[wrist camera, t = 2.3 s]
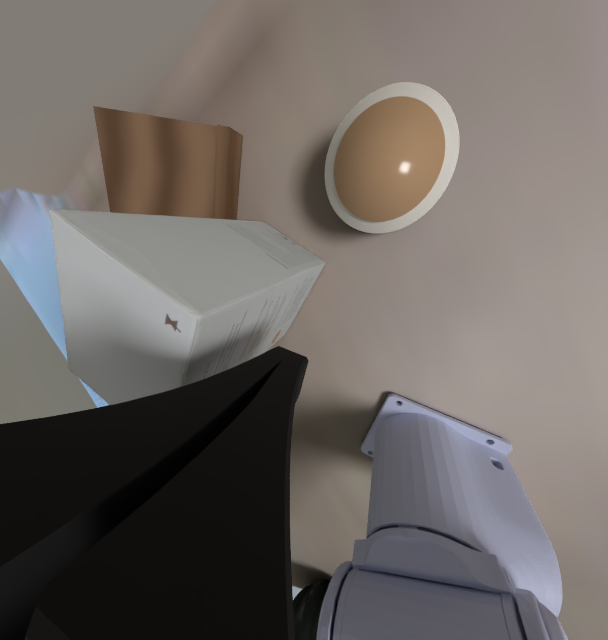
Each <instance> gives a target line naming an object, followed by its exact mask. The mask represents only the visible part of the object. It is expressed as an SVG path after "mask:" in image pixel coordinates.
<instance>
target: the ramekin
mask: <svg viewBox="0 0 608 640" xmlns="http://www.w3.org/2000/svg"><path fill="white" fill-rule="evenodd" d="M458 153H459V130H458V124H457V121H456V118H455V115H454V113H453V111H452V109H451V107H450V105H449V104H448V103H447V101H446V100H445V99H444V98H443V97H442V96H441V95H440V94H439V93H438V92H436V91H435V90H433V89H432V88H430V87H427V86H425V85H422V84H418V83H412V82H401V83H395V84H391V85H388V86H385V87H382V88H380V89H378V90H376V91H373V92H372V93H370V94H369V95H367V96H366V97H364V98H363V99H362V100H361V101H359V102H358V103H357V104H356V105H355V106H354V107H353V108H352V109H351V110H350V111H349V112H348V114H347V115H346V116H345V117H344V119H343V120H342V122H341V123H340V125H339V126H338V128H337V130H336V132H335V134H334V136H333V138H332V140H331V143H330V146H329V149H328V153H327V156H326V162H325V186H326V192H327V195H328V199H329V201H330V203H331V206H332V207H333V209H334V211H335V212H336V213H337V215H338V216H339V217H340V218H341V219H342V220H343V221H344V222H345V223H346V224H348V225H349V226H351V227H353V228H355V229H357V230H359V231H362V232H367V233H377V234H379V233H389V232H393V231H396V230H399V229H402V228H404V227H406V226H408V225H410V224H412V223H413V222H415V221H416V220H418V219H419V218H421V217H422V216H423V215H424V214H426V213H427V212H428V211H429V210H430V209H431V208H432V207H433V206H434V205H435V203H436V202H437V201H438V200H439V198H440V197H441V196H442V194H443V193H444V191H445V189H446V188H447V186H448V184H449V182H450V180H451V178H452V175H453V173H454V170H455V167H456V163H457V159H458Z"/></svg>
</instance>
